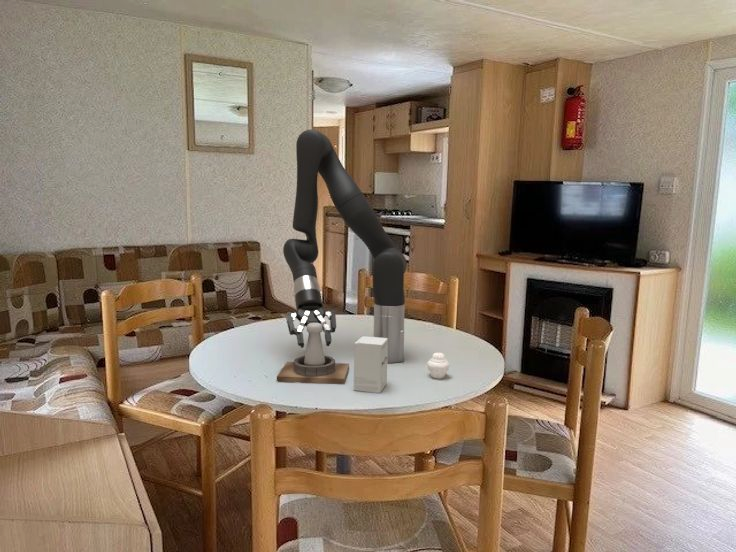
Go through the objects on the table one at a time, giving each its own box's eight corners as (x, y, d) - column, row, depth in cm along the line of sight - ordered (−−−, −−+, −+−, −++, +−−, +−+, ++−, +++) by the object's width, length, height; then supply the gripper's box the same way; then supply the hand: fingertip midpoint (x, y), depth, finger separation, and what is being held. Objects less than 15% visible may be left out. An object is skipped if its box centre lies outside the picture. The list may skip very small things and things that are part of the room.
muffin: (436, 371, 151) (437, 347, 150) (453, 377, 147) (454, 352, 146) (421, 376, 147) (422, 351, 146) (438, 382, 143) (439, 356, 142)
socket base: (349, 368, 153) (349, 355, 152) (344, 384, 140) (344, 369, 139) (287, 366, 154) (287, 353, 153) (276, 381, 141) (276, 367, 141)
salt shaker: (310, 365, 151) (310, 320, 149) (328, 367, 149) (328, 322, 147) (300, 371, 145) (300, 324, 143) (319, 374, 143) (319, 326, 141)
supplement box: (380, 393, 134) (381, 344, 132) (352, 390, 136) (353, 342, 134) (387, 384, 141) (388, 337, 139) (360, 381, 143) (361, 335, 141)
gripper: (283, 288, 149) (290, 340, 139) (334, 286, 153) (343, 336, 143) (281, 303, 154) (287, 354, 145) (330, 301, 159) (339, 350, 149)
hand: (315, 345), depth 144 cm, fingers open, 6 cm apart
